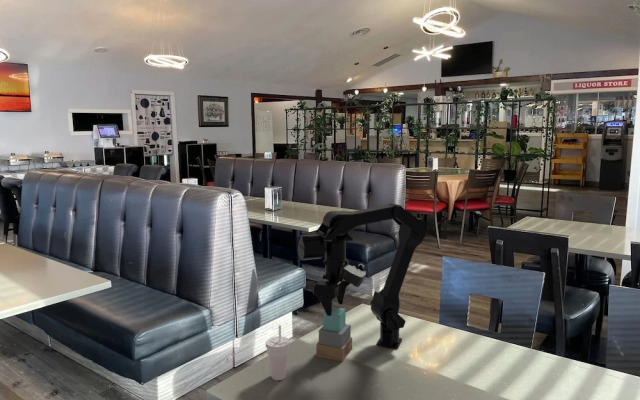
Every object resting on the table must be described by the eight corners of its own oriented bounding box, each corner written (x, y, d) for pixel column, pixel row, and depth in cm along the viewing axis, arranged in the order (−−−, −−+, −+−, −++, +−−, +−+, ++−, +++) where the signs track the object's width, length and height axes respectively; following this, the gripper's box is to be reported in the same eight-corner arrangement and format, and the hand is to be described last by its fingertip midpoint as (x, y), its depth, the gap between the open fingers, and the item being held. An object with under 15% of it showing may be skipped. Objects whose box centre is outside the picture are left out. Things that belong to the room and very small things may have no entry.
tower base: (326, 345, 139) (326, 332, 138) (352, 350, 136) (352, 337, 135) (316, 357, 132) (316, 344, 131) (342, 362, 129) (343, 349, 128)
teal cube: (329, 322, 136) (329, 306, 135) (345, 325, 134) (345, 308, 133) (323, 329, 131) (323, 312, 131) (339, 332, 130) (340, 315, 129)
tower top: (328, 333, 138) (328, 321, 137) (350, 338, 135) (350, 325, 134) (318, 343, 131) (318, 330, 131) (341, 348, 128) (341, 334, 128)
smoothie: (286, 384, 117) (286, 331, 115) (262, 381, 118) (261, 329, 116) (293, 371, 123) (292, 321, 121) (270, 369, 124) (269, 319, 122)
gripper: (352, 268, 118) (351, 327, 120) (372, 251, 135) (371, 302, 137) (312, 264, 122) (312, 320, 124) (336, 247, 139) (336, 297, 141)
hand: (335, 309), depth 132 cm, fingers open, 9 cm apart
